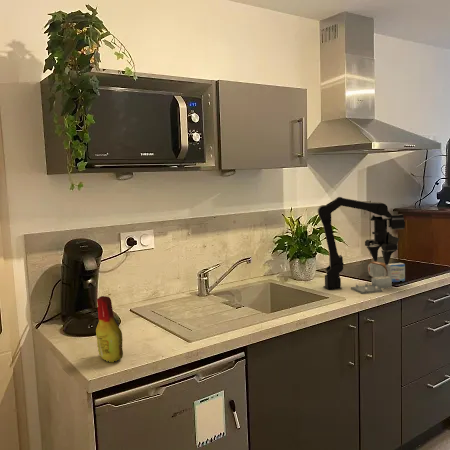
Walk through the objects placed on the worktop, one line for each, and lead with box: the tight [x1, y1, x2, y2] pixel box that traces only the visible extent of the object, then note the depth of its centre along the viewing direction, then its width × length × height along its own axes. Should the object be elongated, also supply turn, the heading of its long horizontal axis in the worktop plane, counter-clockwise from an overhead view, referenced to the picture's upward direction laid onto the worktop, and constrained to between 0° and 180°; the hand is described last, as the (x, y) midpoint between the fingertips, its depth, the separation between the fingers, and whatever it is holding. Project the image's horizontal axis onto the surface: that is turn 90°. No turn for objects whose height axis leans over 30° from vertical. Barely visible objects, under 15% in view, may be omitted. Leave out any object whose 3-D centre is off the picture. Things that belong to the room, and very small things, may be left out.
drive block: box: [371, 276, 393, 290], centre depth 218 cm, size 8×4×5 cm, turn 103°
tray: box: [350, 282, 383, 295], centre depth 214 cm, size 10×10×2 cm
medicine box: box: [386, 262, 406, 283], centre depth 228 cm, size 8×4×9 cm, turn 100°
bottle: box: [95, 295, 124, 363], centre depth 145 cm, size 12×6×20 cm, turn 38°
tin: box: [366, 260, 387, 278], centre depth 235 cm, size 15×3×8 cm, turn 23°
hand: (381, 263), depth 217 cm, fingers open, 9 cm apart
